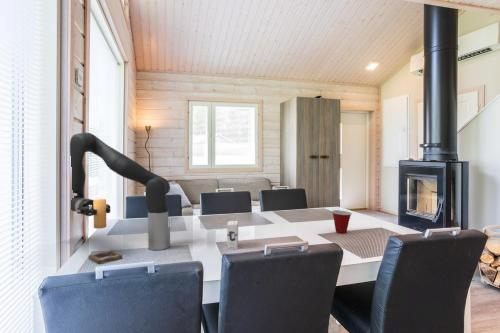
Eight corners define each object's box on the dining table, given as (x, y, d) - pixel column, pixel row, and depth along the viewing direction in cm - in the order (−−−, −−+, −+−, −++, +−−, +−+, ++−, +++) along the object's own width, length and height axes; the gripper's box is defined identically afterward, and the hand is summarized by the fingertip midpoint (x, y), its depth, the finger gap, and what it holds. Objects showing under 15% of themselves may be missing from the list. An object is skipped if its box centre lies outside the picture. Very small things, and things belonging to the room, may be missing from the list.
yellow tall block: (103, 225, 143) (103, 198, 143) (108, 227, 140) (108, 199, 139) (91, 227, 139) (91, 199, 139) (96, 229, 136) (96, 201, 136)
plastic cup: (351, 235, 175) (351, 213, 174) (331, 234, 178) (331, 212, 178) (351, 231, 185) (352, 210, 185) (332, 229, 188) (332, 209, 188)
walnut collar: (111, 253, 143) (111, 250, 143) (122, 258, 137) (122, 254, 137) (88, 258, 136) (88, 255, 136) (98, 264, 129) (98, 260, 129)
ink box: (228, 244, 158) (228, 220, 158) (238, 244, 158) (238, 220, 158) (226, 249, 150) (226, 224, 149) (237, 249, 150) (237, 224, 149)
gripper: (69, 200, 143) (85, 204, 132) (102, 197, 154) (118, 201, 143) (70, 217, 144) (85, 222, 132) (102, 212, 154) (118, 217, 143)
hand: (102, 211), depth 138 cm, fingers closed on yellow tall block, 5 cm apart
